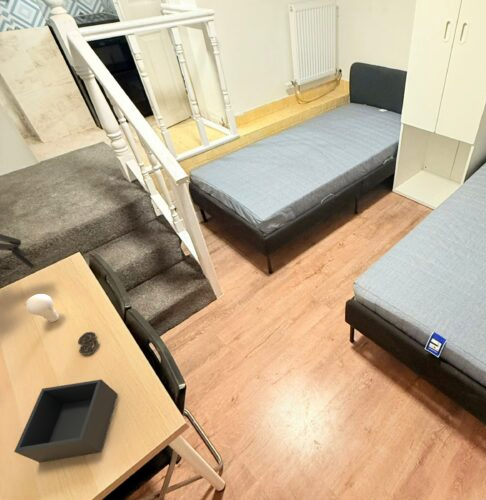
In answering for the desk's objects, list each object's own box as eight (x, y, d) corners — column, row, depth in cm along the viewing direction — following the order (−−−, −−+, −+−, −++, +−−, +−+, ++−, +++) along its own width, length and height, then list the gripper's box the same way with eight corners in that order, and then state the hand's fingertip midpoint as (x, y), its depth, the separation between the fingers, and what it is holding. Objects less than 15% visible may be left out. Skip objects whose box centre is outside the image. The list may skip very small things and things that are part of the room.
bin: (39, 462, 75) (13, 451, 69) (62, 402, 85) (42, 388, 79) (101, 452, 76) (81, 440, 70) (117, 393, 86) (101, 379, 80)
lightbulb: (64, 308, 106) (43, 286, 98) (68, 320, 103) (47, 298, 95) (42, 319, 103) (19, 297, 96) (46, 332, 100) (22, 310, 92)
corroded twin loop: (96, 330, 100) (94, 328, 99) (101, 349, 95) (99, 348, 94) (77, 339, 98) (75, 337, 97) (82, 359, 93) (80, 357, 92)
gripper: (-124, 255, 81) (-41, 312, 86) (-14, 199, 96) (50, 250, 102) (-114, 263, 86) (-36, 317, 92) (-11, 209, 102) (49, 257, 107)
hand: (9, 282), depth 97 cm, fingers open, 13 cm apart
